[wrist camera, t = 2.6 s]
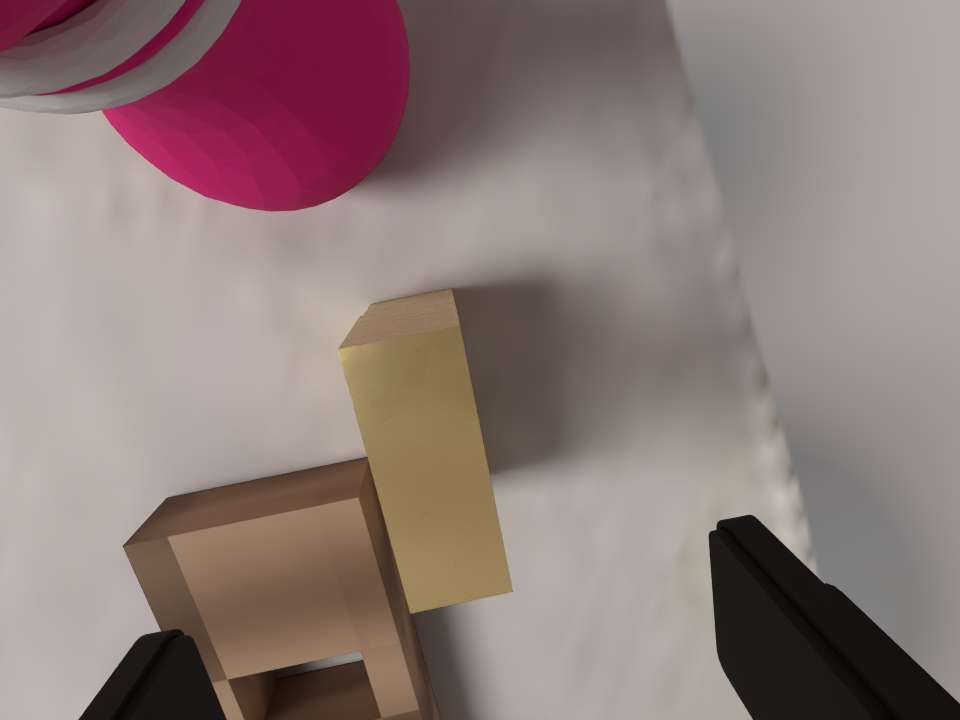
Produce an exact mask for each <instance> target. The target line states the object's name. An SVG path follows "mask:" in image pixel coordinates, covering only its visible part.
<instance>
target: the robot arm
mask: <svg viewBox="0 0 960 720" xmlns="http://www.w3.org/2000/svg"><path fill="white" fill-rule="evenodd" d="M709 549H710V563H711V577H712V590H713V604H714V618H715V632H716V645H717V654H718V657H719V661H720V663H721V666H722V668H723V671H724V672H725V674H726V676H727V678H728V679H729V681H730V683H731V684H732V686H733V687H734V689H735V691H736V692H737V694H738V696H739V697H740V699H741V701H742V702H743V704H744V705H745V707H746V709H747V710H748V712H749V714H750V715H751V717H752V719H753V720H960V704H959V702H957V701H956V700H955V699H954V698H953V697H952V696H951V695H950V694H949V693H948V692H947V691H946V690H945V689H944V688H943V687H942V686H941V685H939V684H938V683H937V682H936V681H935V680H934V679H933V678H932V677H931V676H930V675H929V674H928V673H927V672H926V671H925V670H924V669H923V668H922V667H921V666H920V665H918V664H917V663H916V662H915V661H914V660H913V659H912V658H911V657H910V656H909V655H908V654H907V653H906V652H905V651H904V650H903V649H902V648H901V647H899V646H898V645H897V644H896V643H895V642H894V641H893V640H892V639H891V638H890V637H889V636H888V635H887V634H886V633H885V632H884V631H883V630H881V628H879V627H878V626H877V625H876V624H875V623H874V622H873V621H872V620H871V619H870V618H869V617H868V616H867V615H866V614H865V613H864V612H863V611H862V610H860V609H859V608H858V607H857V606H856V605H855V604H854V603H853V602H852V601H851V600H850V599H849V598H848V597H847V596H846V595H845V594H844V593H843V592H841V591H840V590H839V589H837V588H836V587H835V586H833V585H830V584H827V583H826V584H824V583H823V582H822V581H821V580H820V579H819V578H818V577H817V576H816V575H815V574H814V573H813V572H812V571H810V570H809V569H808V568H807V567H806V566H805V565H804V564H803V563H802V562H801V561H800V560H799V559H798V558H797V557H796V556H795V555H794V554H793V553H792V552H791V551H790V550H789V549H788V548H787V547H786V546H785V545H784V544H783V543H782V542H781V541H780V540H779V539H778V538H777V537H776V536H774V535H773V534H772V533H771V532H770V531H769V530H768V529H767V528H766V527H765V526H764V525H763V524H762V523H761V522H760V521H759V520H758V519H757V518H756V517H754V516H753V515H745V516H740V517H735V518H730V519H725V520H720V521H719V522H718V523H717V530H714V531H711V532H710V533H709ZM79 720H227V719H226V716H225V714H224V711H223V709H222V707H221V704H220V702H219V699H218V697H217V694H216V692H215V690H214V687H213V685H212V682H211V680H210V677H209V675H208V673H207V670H206V668H205V665H204V663H203V660H202V658H201V656H200V653H199V651H198V648H197V646H196V643H195V641H194V639H193V638H192V637H191V636H190V635H186V636H185V634H184V633H183V631H181V630H180V629H171V630H166V631H161V632H156V633H151V634H146V635H143V636H141V637H140V638H139V639H138V640H137V641H136V642H135V643H134V645H133V646H132V647H131V649H130V650H129V651H128V653H127V654H126V655H125V657H124V658H123V660H122V661H121V662H120V664H119V665H118V666H117V668H116V669H115V670H114V672H113V673H112V675H111V676H110V677H109V679H108V680H107V681H106V683H105V684H104V686H103V687H102V688H101V690H100V691H99V692H98V694H97V695H96V696H95V698H94V699H93V701H92V702H91V703H90V705H89V706H88V707H87V709H86V710H85V711H84V713H83V714H82V716H81V717H80V718H79Z"/></svg>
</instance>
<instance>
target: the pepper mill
mask: <svg viewBox="0 0 960 720" xmlns="http://www.w3.org/2000/svg"><path fill="white" fill-rule="evenodd" d="M409 73H410V66H409V50H408V41H407V36H406V31H405V27H404V22H403V17H402V14H401V12H400V9H399V6H398V3H397V1H396V0H0V107H4V108H9V109H14V110H19V111H24V112H38V113H53V114H78V113H88V112H93V111H98V110H102V111H103V113H104V115H105V116H106V118H107V119H108V121H109V122H110V124H111V125H112V126H113V127H114V128H115V129H116V130H117V132H118V133H119V134H120V135H121V136H122V137H123V138H124V139H125V141H126V142H127V143H128V144H129V145H130V146H131V147H132V148H134V149H135V150H136V151H137V152H138V153H140V154H141V155H142V156H143V157H144V158H145V159H147V160H148V161H149V162H150V163H151V164H153V165H154V166H155V167H157V168H158V169H159V170H161V171H162V172H163V173H165V174H166V175H167V176H169V177H170V178H171V179H173V180H175V181H177V182H179V183H181V184H182V185H184V186H186V187H188V188H190V189H192V190H194V191H196V192H197V193H199V194H201V195H203V196H205V197H208V198H212V199H215V200H219V201H222V202H226V203H229V204H233V205H236V206H241V207H245V208H249V209H256V210H264V211H294V210H299V209H304V208H309V207H314V206H317V205H320V204H322V203H325V202H327V201H330V200H332V199H335V198H337V197H338V196H340V195H342V194H343V193H345V192H347V191H348V190H350V189H352V188H353V187H354V186H356V185H357V184H358V183H359V182H360V181H362V180H363V179H364V178H365V177H366V176H367V175H368V174H369V173H370V172H371V171H372V170H373V169H374V168H375V167H376V165H377V164H378V163H379V162H380V160H381V159H382V158H383V156H384V155H385V153H386V152H387V150H388V148H389V147H390V145H391V143H392V141H393V139H394V137H395V135H396V132H397V130H398V127H399V125H400V122H401V119H402V117H403V113H404V109H405V104H406V100H407V95H408V85H409Z"/></svg>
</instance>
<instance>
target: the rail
mask: <svg viewBox="0 0 960 720" xmlns="http://www.w3.org/2000/svg"><path fill="white" fill-rule="evenodd" d="M123 548H124V550H125V552H126V555H127V557H128V559H129V561H130V563H131V566H132V568H133V570H134V572H135V574H136V577H137V579H138V581H139V583H140V585H141V588H142V590H143V592H144V594H145V596H146V599H147V601H148V603H149V605H150V607H151V610H152V612H153V614H154V616H155V619H156V621H157V623H158V625H159V627H160V630H161V631H166V630H171V629H180V630H181V631H183V633H184V634H185V636H186V635H190V636H191V637H192V638H193V639H194V641H195V643H196V646H197V648H198V651H199V653H200V656H201V658H202V660H203V663H204V665H205V668H206V670H207V673H208V675H209V677H210V680H211V682H212V685H213V687H214V690H215V692H216V694H217V697H218V699H219V702H220V704H221V707H222V709H223V711H224V714H225V716H226V719H227V720H440V716H439V713H438V709H437V705H436V702H435V698H434V694H433V691H432V687H431V683H430V680H429V676H428V672H427V669H426V665H425V661H424V658H423V654H422V650H421V647H420V643H419V639H418V636H417V632H416V628H415V625H414V621H413V617H412V614H410V611H409V607H408V603H407V600H406V596H405V592H404V589H403V585H402V581H401V578H400V574H399V570H398V567H397V563H396V559H395V556H394V552H393V548H392V545H391V541H390V537H389V534H388V530H387V527H386V523H385V519H384V516H383V512H382V508H381V505H380V501H379V497H378V494H377V490H376V486H375V483H374V479H373V475H372V472H371V468H370V464H369V461H368V457H366V458H361V459H356V460H351V461H347V462H342V463H337V464H332V465H327V466H322V467H317V468H312V469H307V470H303V471H298V472H293V473H288V474H283V475H278V476H273V477H268V478H263V479H258V480H254V481H249V482H244V483H239V484H234V485H229V486H224V487H219V488H214V489H210V490H205V491H200V492H195V493H190V494H185V495H180V496H175V497H170V498H166V499H165V500H164V502H163V503H162V504H161V505H160V506H159V507H158V508H157V509H156V510H155V511H154V512H153V514H152V515H151V516H150V517H149V518H148V519H147V520H146V521H145V522H144V523H143V524H142V526H141V527H140V528H139V529H138V530H137V531H136V532H135V533H134V534H133V535H132V537H131V538H130V539H129V540H128V541H127V542H126V543H125V544H124V545H123ZM358 651H361V654H362V657H363V661H360V662H355V663H351V664H346V665H341V666H337V667H332V668H328V669H323V670H318V671H314V672H309V673H304V674H300V675H295V676H291V677H286V678H281V679H277V677H276V675H275V672H274V669H279V668H284V667H288V666H293V665H298V664H302V663H307V662H311V661H316V660H321V659H325V658H330V657H335V656H339V655H344V654H349V653H353V652H358Z"/></svg>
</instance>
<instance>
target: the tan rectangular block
mask: <svg viewBox="0 0 960 720" xmlns="http://www.w3.org/2000/svg"><path fill="white" fill-rule="evenodd" d="M338 351H339V355H340V358H341V362H342V366H343V369H344V373H345V377H346V380H347V384H348V388H349V391H350V395H351V398H352V402H353V406H354V409H355V413H356V417H357V420H358V424H359V428H360V431H361V435H362V439H363V442H364V446H365V450H366V453H367V457H368V461H369V464H370V468H371V472H372V475H373V479H374V483H375V486H376V490H377V494H378V497H379V501H380V505H381V508H382V512H383V516H384V519H385V523H386V527H387V530H388V534H389V537H390V541H391V545H392V548H393V552H394V556H395V559H396V563H397V567H398V570H399V574H400V578H401V581H402V585H403V589H404V592H405V596H406V600H407V603H408V607H409V611H410V614H411V613H416V612H421V611H425V610H430V609H435V608H439V607H444V606H449V605H453V604H458V603H463V602H467V601H472V600H477V599H481V598H486V597H491V596H495V595H500V594H505V593H509V592H513V590H512V585H511V580H510V575H509V569H508V564H507V559H506V554H505V549H504V544H503V539H502V534H501V529H500V524H499V519H498V514H497V509H496V504H495V499H494V494H493V489H492V484H491V479H490V474H489V469H488V464H487V459H486V454H485V448H484V443H483V438H482V433H481V428H480V423H479V418H478V413H477V408H476V403H475V398H474V393H473V388H472V383H471V378H470V373H469V368H468V363H467V358H466V353H465V348H464V343H463V338H462V333H461V328H460V323H459V318H458V314H457V310H456V305H455V301H454V297H453V292H452V288H451V289H446V290H441V291H436V292H431V293H426V294H421V295H416V296H411V297H405V298H400V299H395V300H390V301H385V302H380V303H375V304H370V306H369V307H368V309H367V311H366V312H365V314H364V315H363V316H360V317H359V319H358V320H357V322H356V323H355V325H354V326H353V328H352V329H351V331H350V332H349V334H348V335H347V337H346V338H345V340H344V341H343V343H342V344H341V346H340V347H339V349H338Z"/></svg>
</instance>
